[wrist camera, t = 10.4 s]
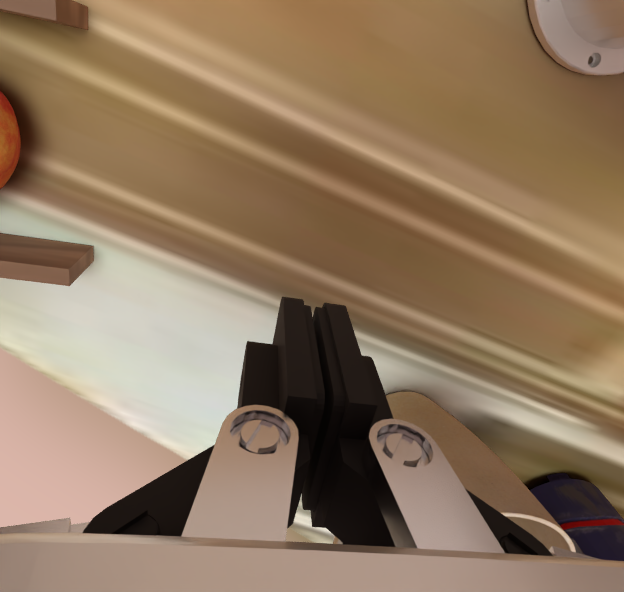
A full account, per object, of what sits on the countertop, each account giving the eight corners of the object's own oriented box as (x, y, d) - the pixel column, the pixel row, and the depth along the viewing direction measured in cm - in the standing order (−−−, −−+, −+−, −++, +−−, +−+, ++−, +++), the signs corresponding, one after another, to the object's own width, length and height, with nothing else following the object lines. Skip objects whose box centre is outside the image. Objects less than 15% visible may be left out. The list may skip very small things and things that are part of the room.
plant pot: (301, 459, 44) (318, 641, 30) (363, 339, 38) (421, 492, 24) (429, 488, 48) (499, 662, 33) (502, 381, 42) (624, 537, 28)
